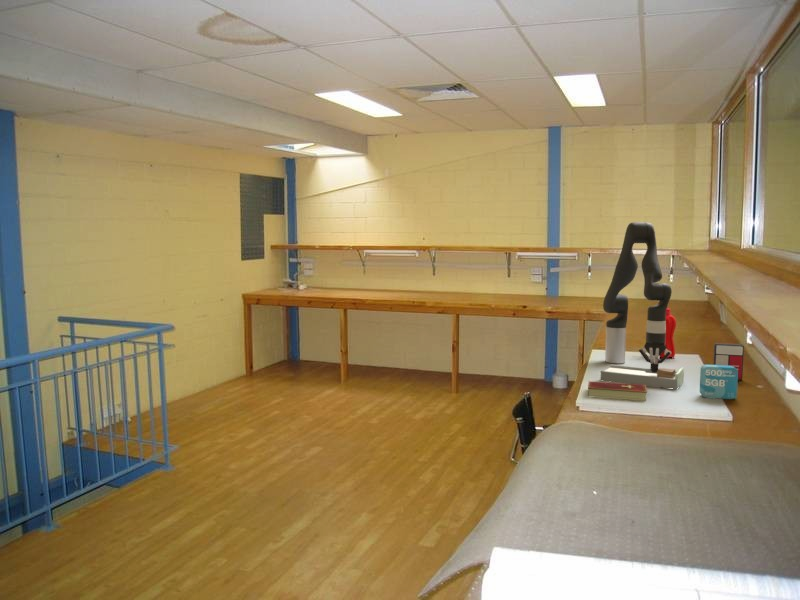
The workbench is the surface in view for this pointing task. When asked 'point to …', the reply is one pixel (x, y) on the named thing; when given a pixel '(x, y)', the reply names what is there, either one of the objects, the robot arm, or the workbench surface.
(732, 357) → the grey white red block
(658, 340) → the robot arm
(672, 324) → the water bottle
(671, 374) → the walnut block
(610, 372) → the box
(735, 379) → the data package
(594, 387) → the hardcover book
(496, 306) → the workbench surface
